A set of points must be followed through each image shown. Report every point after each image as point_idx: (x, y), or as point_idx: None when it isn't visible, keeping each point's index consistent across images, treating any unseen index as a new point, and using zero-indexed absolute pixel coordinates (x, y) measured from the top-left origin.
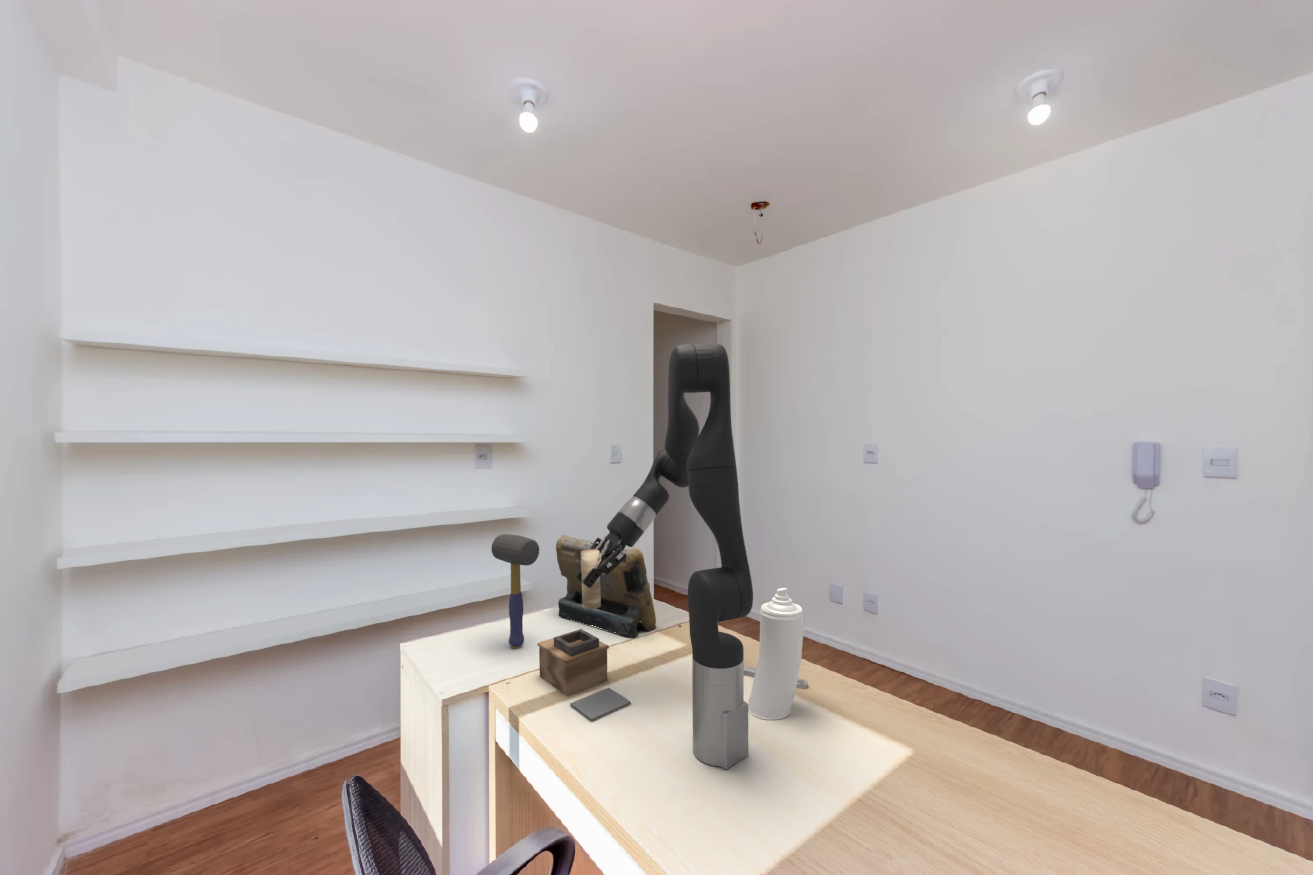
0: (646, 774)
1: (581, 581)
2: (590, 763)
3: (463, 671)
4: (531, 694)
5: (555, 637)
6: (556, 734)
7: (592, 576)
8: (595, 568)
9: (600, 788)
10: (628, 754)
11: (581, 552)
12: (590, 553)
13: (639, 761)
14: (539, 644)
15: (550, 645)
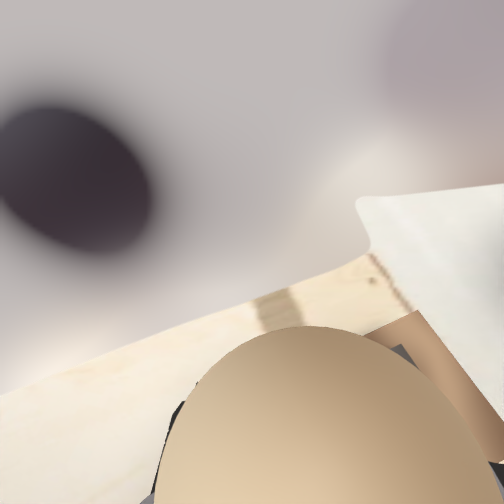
0: (5, 485)
1: None
2: (84, 393)
3: (426, 213)
4: (319, 318)
5: (400, 348)
6: (179, 350)
7: (163, 451)
8: (152, 500)
9: (27, 397)
10: (67, 468)
11: (298, 331)
12: (173, 463)
13: (39, 484)
14: (408, 314)
15: (397, 340)
